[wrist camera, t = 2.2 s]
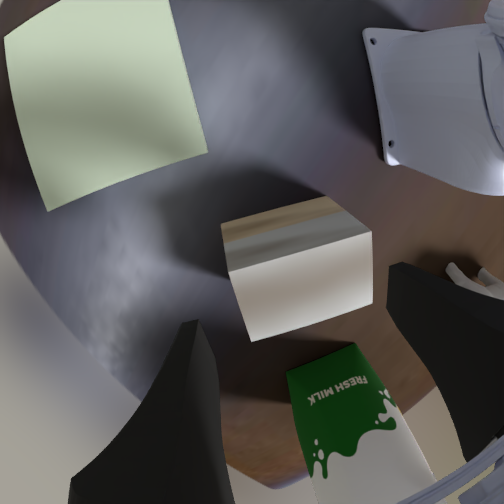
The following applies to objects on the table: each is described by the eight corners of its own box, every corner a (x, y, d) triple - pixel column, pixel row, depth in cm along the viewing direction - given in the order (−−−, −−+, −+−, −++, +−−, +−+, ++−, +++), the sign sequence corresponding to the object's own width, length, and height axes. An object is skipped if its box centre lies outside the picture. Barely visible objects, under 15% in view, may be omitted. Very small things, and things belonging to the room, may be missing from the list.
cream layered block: (333, 254, 21) (372, 303, 16) (238, 282, 21) (251, 341, 15) (325, 195, 19) (371, 231, 13) (220, 223, 18) (228, 272, 13)
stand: (207, 148, 16) (207, 152, 14) (61, 201, 16) (47, 211, 14) (162, -26, 11) (157, -40, 9) (19, 41, 10) (3, 37, 8)
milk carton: (296, 411, 29) (347, 570, 12) (272, 368, 25) (335, 583, 7) (369, 381, 29) (442, 528, 11) (362, 330, 25) (471, 521, 7)
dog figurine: (482, 305, 28) (534, 357, 19) (419, 308, 25) (482, 384, 16) (500, 267, 26) (558, 317, 16) (441, 260, 23) (519, 330, 14)
